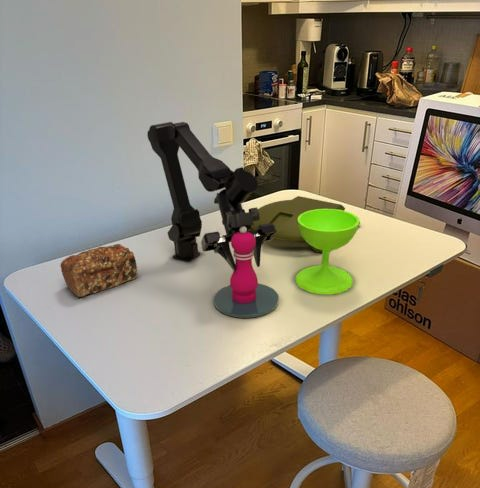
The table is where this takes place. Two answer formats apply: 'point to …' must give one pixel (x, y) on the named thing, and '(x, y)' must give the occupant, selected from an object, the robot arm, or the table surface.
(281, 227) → the spaceship
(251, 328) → the table surface
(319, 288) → the wineglass
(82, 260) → the bread
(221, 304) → the plate
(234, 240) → the pepper mill
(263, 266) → the table surface
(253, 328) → the table surface
